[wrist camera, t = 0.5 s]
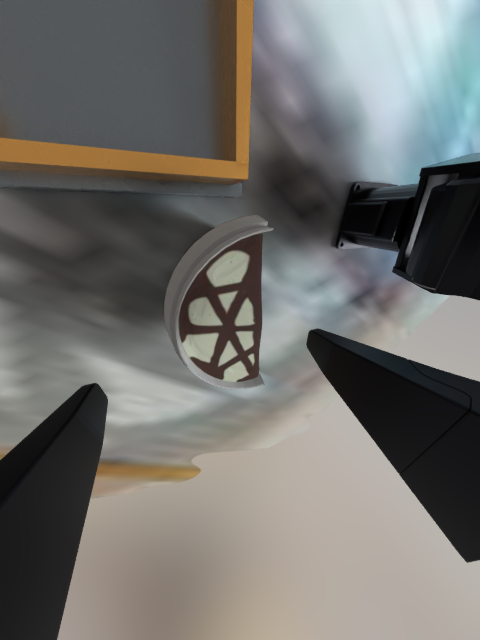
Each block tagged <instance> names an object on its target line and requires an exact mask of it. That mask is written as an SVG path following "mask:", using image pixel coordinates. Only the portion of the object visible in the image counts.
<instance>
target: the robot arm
mask: <svg viewBox="0 0 480 640" xmlns="http://www.w3.org/2000/svg"><path fill="white" fill-rule="evenodd" d="M419 176H421V177H420V180H419V184H410V185H401V186H398V185H392V184H380V183H369V182H355V183H354V184H353V185H352V187H351V191H350V194H349V198H348V202H347V206H346V209H345V213H344V217H343V220H342V224H341V228H340V232H339V235H338V239H337V243H336V248H339V249H349V248H368V247H373V248H379V249H384V250H390V251H395V252H399V253H398V257H397V260H396V264H395V266H394V267H393V270H392V272H393V273H395V274H397V275H399V276H401V277H402V278H404V279H406V280H408V281H410V282H412V283H413V284H415V285H417V286H419V287H421V288H423V289H425V290H427V291H429V292H431V293H437V294H444V295H456V296H462V297H468V298H472V299H476V300H480V153H475V154H470V155H465V156H461V157H458V158H454V159H451V160H447V161H444V162H440V163H437V164H434V165H430V166H427V167H423V168H421V172H420V175H419ZM356 187H357V189H356ZM340 244H341V245H340ZM307 348H308V350H309V351H310V353H311V355H312V356H313V358H314V359H315V361H316V363H317V364H318V366H319V368H320V369H321V371H322V372H323V374H324V375H325V377H326V378H327V379H328V381H329V382H330V383H331V385H332V386H333V387H334V389H335V390H336V391H337V393H338V394H339V395H340V397H341V398H342V399H343V401H344V402H345V403H346V405H347V406H348V407H349V408H350V410H351V411H352V412H353V414H354V415H355V416H356V418H357V419H358V420H359V422H360V423H361V424H362V426H363V427H364V428H365V430H366V431H367V432H368V433H369V435H370V436H371V438H372V439H373V440H374V441H375V443H376V444H377V446H378V447H379V448H380V449H381V451H382V452H383V453H384V455H385V456H386V457H387V459H388V460H389V461H390V463H391V464H392V465H393V466H394V468H395V469H396V470H397V472H398V473H399V475H400V476H401V477H402V479H403V480H404V481H405V483H406V484H407V485H408V487H409V488H410V489H411V491H412V492H413V493H414V494H415V496H416V497H417V499H418V500H419V501H420V503H421V504H422V505H423V506H424V508H425V509H426V511H427V512H428V513H429V514H430V516H431V517H432V518H433V520H434V521H435V522H436V524H437V525H438V526H439V528H440V529H441V530H442V532H443V533H444V534H445V536H446V537H447V538H448V540H449V541H450V542H451V544H452V545H453V546H454V547H455V549H456V550H457V551H458V553H459V554H460V555H461V556H462V557H463V559H464V560H465V561H466V562H467V563H468V562H473V561H478V560H480V382H479V381H475V380H472V379H468V378H465V377H462V376H458V375H455V374H452V373H449V372H445V371H442V370H439V369H436V368H432V367H430V366H427V365H424V364H421V363H418V362H415V361H412V360H407V359H406V358H403V357H400V356H397V355H394V354H391V353H388V352H385V351H382V350H380V349H377V348H374V347H371V346H368V345H365V344H362V343H359V342H356V341H353V340H350V339H347V338H345V337H342V336H339V335H336V334H333V333H330V332H327V331H324V330H321V329H313V330H310V331H309V333H308V338H307ZM107 405H108V399H107V396H106V394H105V393H104V392H103V390H102V389H101V387H100V386H99V385H98V384H97V383H92V384H88V385H84V386H82V387H81V388H80V389H78V390H77V391H76V392H75V393H74V394H73V395H72V396H71V397H70V398H69V399H67V400H66V401H65V402H64V403H63V404H62V405H61V406H60V407H59V408H57V409H56V410H55V411H54V412H53V413H52V414H51V415H50V416H49V417H48V418H46V419H45V420H44V421H43V422H42V423H41V424H40V425H39V426H38V427H37V428H35V429H34V430H33V431H32V432H31V433H30V434H29V435H28V436H27V437H25V438H24V439H23V440H22V441H21V442H20V443H19V444H18V445H17V446H16V447H14V448H13V449H12V450H11V451H10V452H9V453H8V454H7V455H6V456H5V457H3V458H2V459H1V460H0V640H57V637H58V633H59V629H60V624H61V620H62V616H63V612H64V608H65V603H66V599H67V595H68V591H69V586H70V582H71V578H72V573H73V569H74V565H75V561H76V556H77V552H78V548H79V544H80V539H81V535H82V531H83V527H84V523H85V518H86V514H87V510H88V506H89V501H90V497H91V493H92V489H93V484H94V480H95V476H96V472H97V467H98V463H99V459H100V455H101V450H102V445H103V439H104V431H105V422H106V414H107Z"/></svg>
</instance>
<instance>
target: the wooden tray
mask: <svg viewBox="0 0 480 640" xmlns="http://www.w3.org/2000/svg"><path fill="white" fill-rule="evenodd" d="M253 6H254V0H0V188H21V189H44V190H68V191H92V192H116V193H140V194H164V195H188V196H211V197H240V196H242V184H243V181H245V180H248V167H249V135H250V103H251V71H252V38H253Z"/></svg>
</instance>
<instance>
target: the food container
mask: <svg viewBox="0 0 480 640" xmlns="http://www.w3.org/2000/svg"><path fill="white" fill-rule="evenodd" d="M267 223H268V221H266V220H265V219H263V218H261V217H260V216H258V215H257V214H255V215H249V216H243V217H239V218H236V219H233V220H231V221H228V222H225V223H223V224H221V225H219V226H218V227H216V228H214V229H212V230H211V231H209V232H207V233H206V234H205V235H204V236H202V237H201V238H200V239H199V240H197V241H196V242H195V243H194V244H193V245H192V246H191V247H190V248H189V249H188V250H187V251H186V252H185V254H184V256H183V257H182V258H181V260H180V262H179V263H178V265H177V267H176V268H175V270H174V272H173V274H172V276H171V279H170V282H169V284H168V287H167V291H166V296H165V302H164V319H165V323H166V328H167V332H168V334H169V337H170V339H171V341H172V344H173V346H174V348H175V350H176V353H177V354H178V356H179V357H180V359H181V360H182V362H183V363H184V364H185V365H186V366H187V367H188V368H189V369H190V370H191V371H192V372H193V373H194V374H195V375H196V376H197V377H199V378H200V379H202V380H203V381H205V382H207V383H210V384H212V385H214V386H218V387H222V388H228V389H247V388H253V387H258V386H262V385H265V384H264V382H263V380H262V378H261V376H260V374H259V347H260V339H261V330H262V301H261V272H262V236H263V233H262V232H266V231H272V230H273V228H271V227H267Z"/></svg>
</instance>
